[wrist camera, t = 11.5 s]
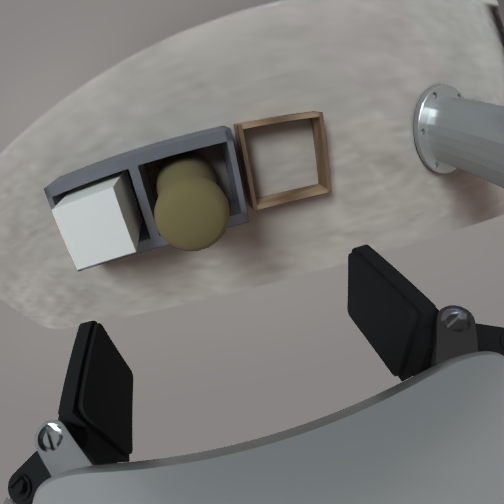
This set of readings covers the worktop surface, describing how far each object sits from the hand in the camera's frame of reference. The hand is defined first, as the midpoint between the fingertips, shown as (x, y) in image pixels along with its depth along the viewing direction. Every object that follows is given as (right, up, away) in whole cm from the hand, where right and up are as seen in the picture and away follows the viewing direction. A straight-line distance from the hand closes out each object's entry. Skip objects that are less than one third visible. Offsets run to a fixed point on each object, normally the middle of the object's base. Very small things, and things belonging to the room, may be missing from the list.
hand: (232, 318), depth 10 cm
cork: (-6, +9, +18) cm, 21 cm away
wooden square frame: (+4, +12, +19) cm, 23 cm away
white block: (-13, +7, +17) cm, 23 cm away
